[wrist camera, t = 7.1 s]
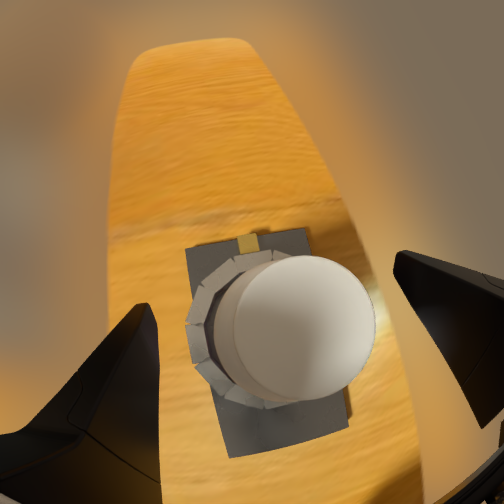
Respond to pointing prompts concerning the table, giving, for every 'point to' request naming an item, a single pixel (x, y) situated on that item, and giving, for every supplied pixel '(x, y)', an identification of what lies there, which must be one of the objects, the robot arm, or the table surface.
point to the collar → (201, 313)
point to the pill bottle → (295, 329)
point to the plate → (264, 420)
